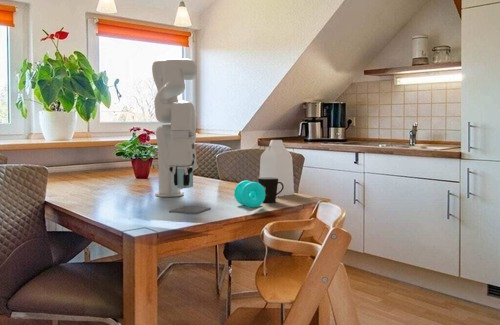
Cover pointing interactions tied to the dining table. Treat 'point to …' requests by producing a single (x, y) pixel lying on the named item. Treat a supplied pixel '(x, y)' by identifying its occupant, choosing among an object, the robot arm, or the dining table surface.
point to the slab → (180, 178)
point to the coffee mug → (270, 188)
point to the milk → (278, 166)
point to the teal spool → (249, 188)
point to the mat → (190, 209)
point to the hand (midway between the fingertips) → (181, 184)
